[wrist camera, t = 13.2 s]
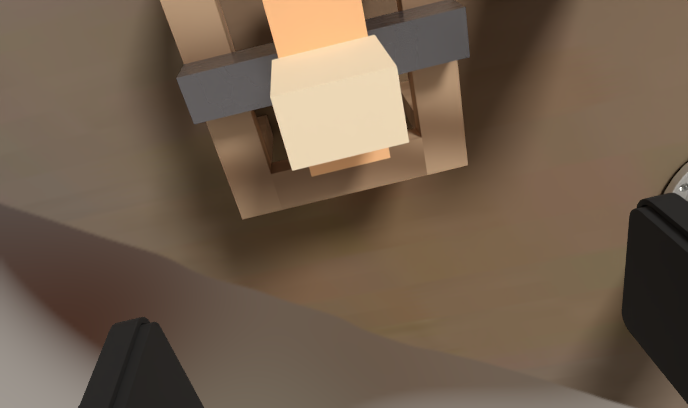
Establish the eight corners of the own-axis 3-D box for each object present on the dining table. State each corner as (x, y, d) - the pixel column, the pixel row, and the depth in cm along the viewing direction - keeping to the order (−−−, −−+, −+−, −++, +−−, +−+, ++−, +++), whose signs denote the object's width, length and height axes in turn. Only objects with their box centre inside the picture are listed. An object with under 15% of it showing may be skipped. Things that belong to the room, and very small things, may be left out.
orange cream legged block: (363, 82, 36) (419, 207, 22) (298, 98, 36) (311, 233, 22) (334, -60, 32) (382, -24, 17) (260, -42, 32) (244, 10, 17)
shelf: (421, 99, 42) (468, 165, 32) (251, 140, 42) (242, 219, 32) (385, -152, 33) (433, -175, 23) (171, -99, 33) (123, -97, 23)
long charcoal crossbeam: (455, 45, 28) (469, 57, 26) (200, 107, 28) (194, 124, 26) (451, -2, 27) (465, 6, 25) (184, 64, 27) (176, 77, 25)
